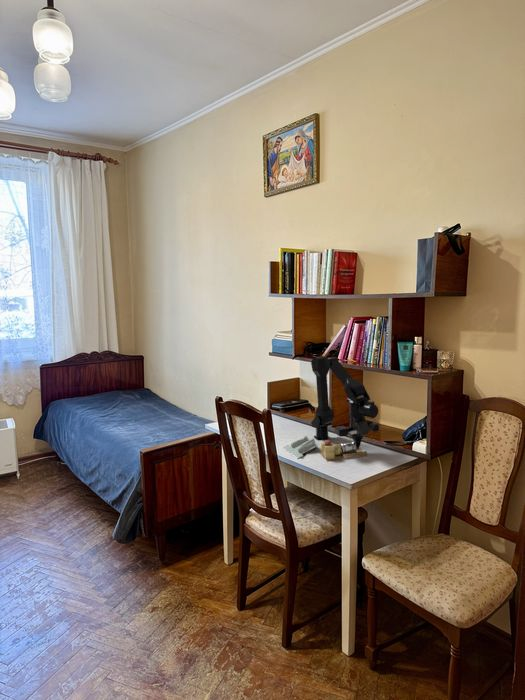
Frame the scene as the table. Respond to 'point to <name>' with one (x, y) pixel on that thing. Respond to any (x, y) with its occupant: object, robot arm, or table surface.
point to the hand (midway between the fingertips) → (357, 447)
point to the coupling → (348, 448)
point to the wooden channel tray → (337, 452)
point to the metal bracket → (301, 446)
